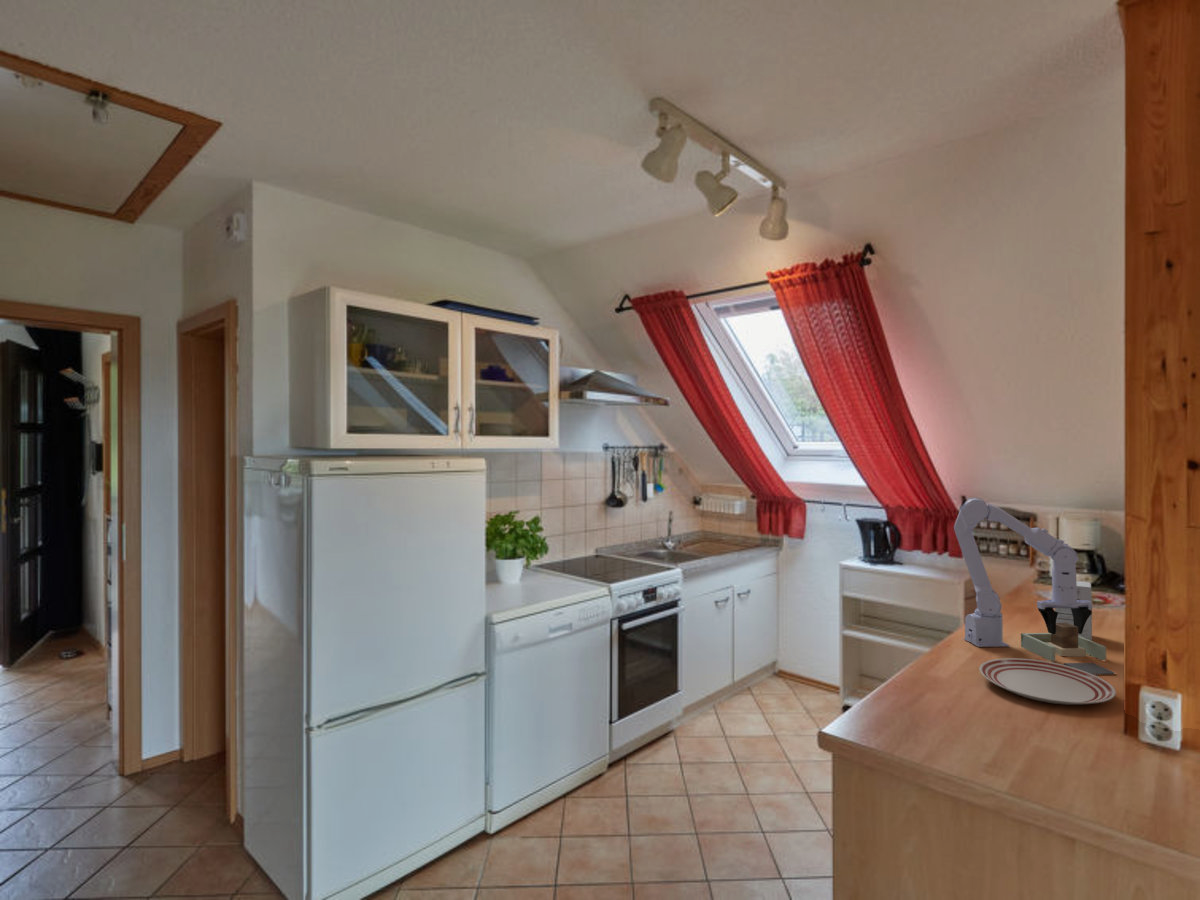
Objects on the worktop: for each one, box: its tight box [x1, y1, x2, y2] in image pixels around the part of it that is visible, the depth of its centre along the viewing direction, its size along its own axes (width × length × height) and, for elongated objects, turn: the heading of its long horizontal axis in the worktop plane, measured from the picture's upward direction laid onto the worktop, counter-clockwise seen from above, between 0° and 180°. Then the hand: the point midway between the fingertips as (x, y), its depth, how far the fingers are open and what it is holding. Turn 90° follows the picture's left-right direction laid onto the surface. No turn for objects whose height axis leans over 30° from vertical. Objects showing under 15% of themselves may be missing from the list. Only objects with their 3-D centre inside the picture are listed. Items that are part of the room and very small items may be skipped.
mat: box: [1063, 662, 1115, 676], centre depth 168 cm, size 8×8×1 cm
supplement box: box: [1054, 580, 1093, 641], centre depth 197 cm, size 10×9×17 cm
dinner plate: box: [979, 657, 1117, 705], centre depth 155 cm, size 27×27×3 cm
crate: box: [1020, 632, 1107, 663], centre depth 181 cm, size 15×13×4 cm
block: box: [1051, 623, 1078, 648], centre depth 182 cm, size 4×4×6 cm
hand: (1064, 633), depth 182 cm, fingers open, 7 cm apart
